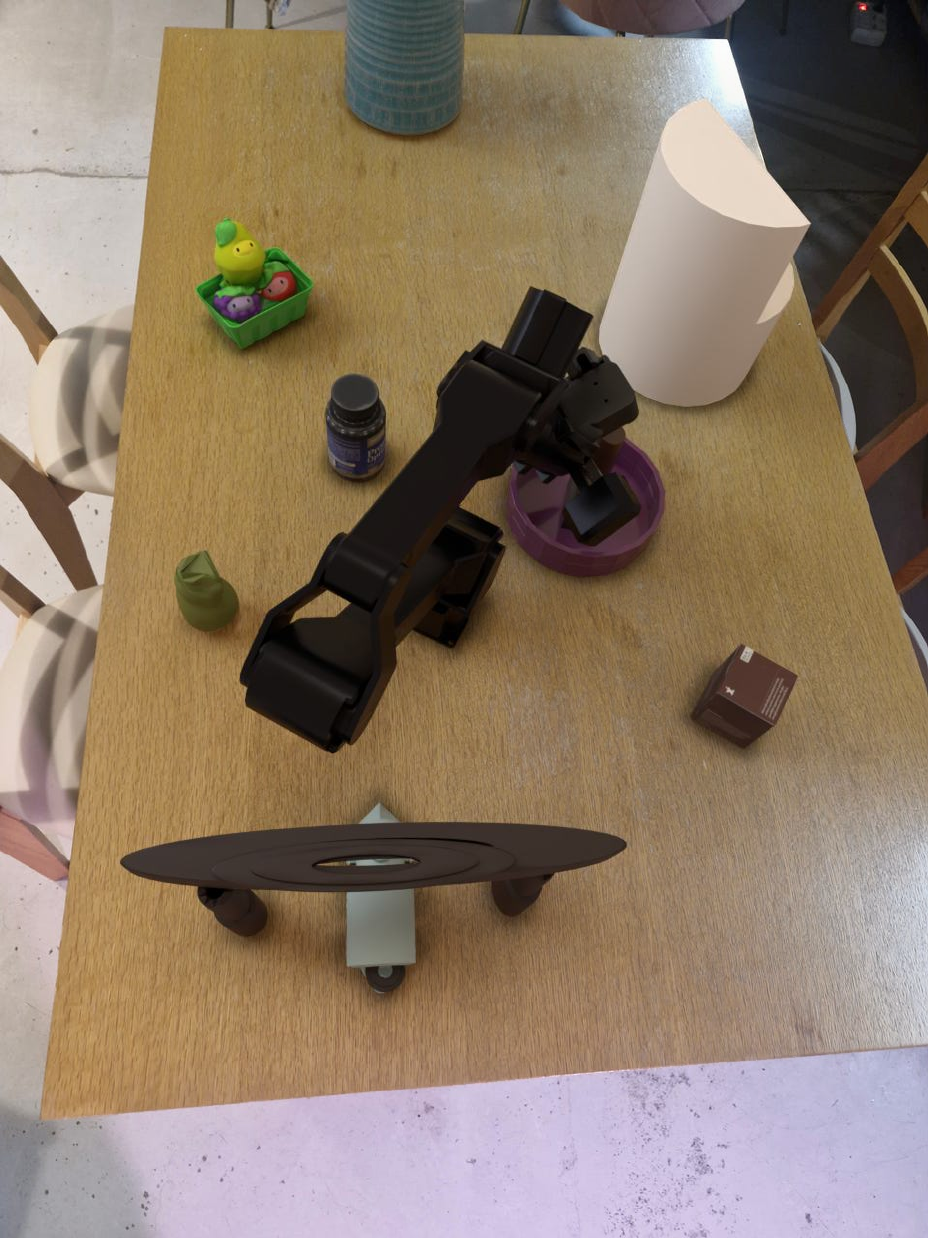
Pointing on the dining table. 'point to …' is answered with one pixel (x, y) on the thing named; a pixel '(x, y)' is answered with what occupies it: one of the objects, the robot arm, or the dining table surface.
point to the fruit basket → (252, 286)
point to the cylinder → (701, 265)
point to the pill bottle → (356, 428)
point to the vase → (405, 63)
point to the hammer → (599, 462)
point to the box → (744, 697)
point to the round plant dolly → (372, 873)
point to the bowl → (556, 548)
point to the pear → (204, 594)
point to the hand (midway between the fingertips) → (605, 467)
